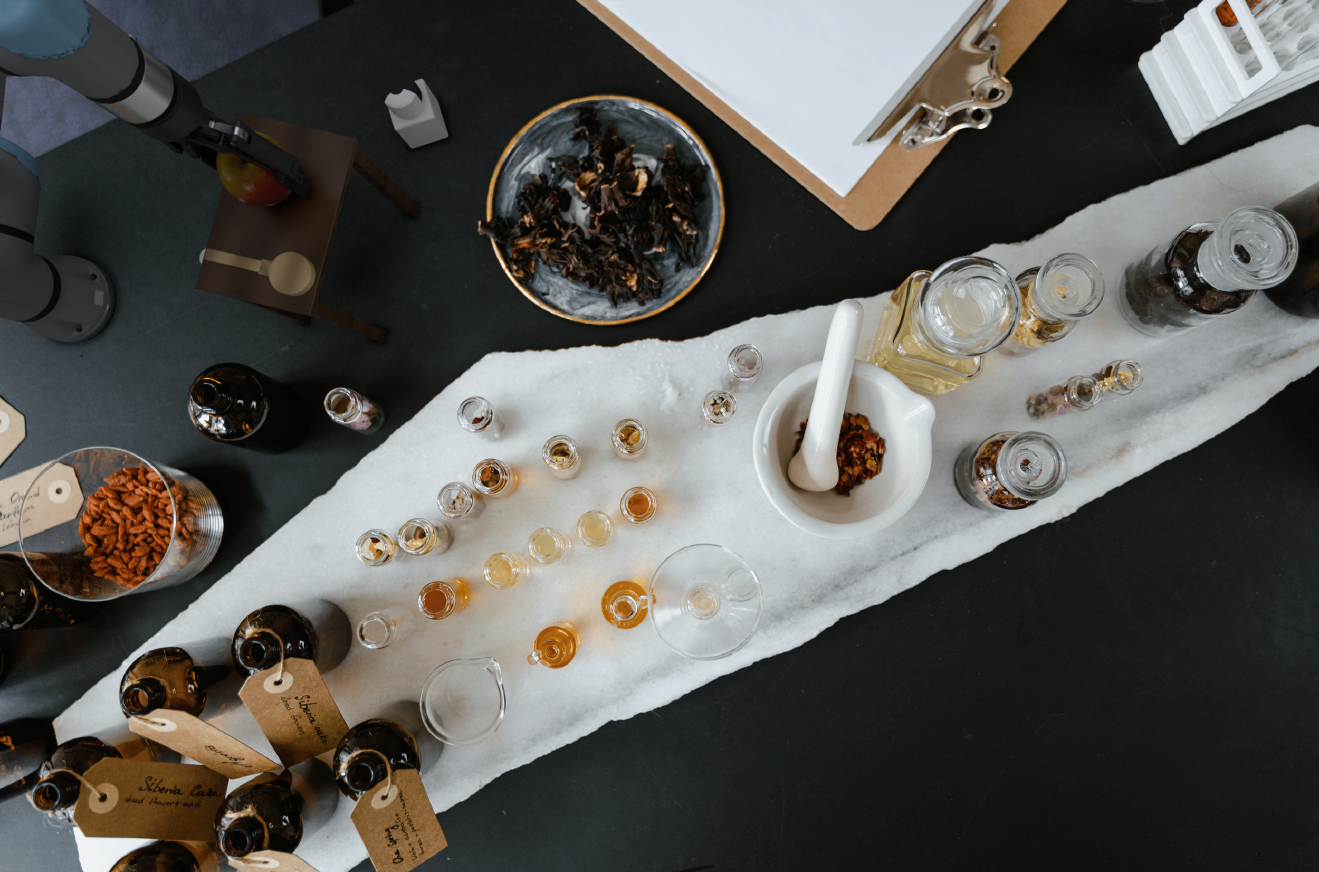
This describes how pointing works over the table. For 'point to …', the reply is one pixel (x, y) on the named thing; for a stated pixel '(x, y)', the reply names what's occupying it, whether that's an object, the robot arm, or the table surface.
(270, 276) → the wooden paddle
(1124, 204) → the table surface
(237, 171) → the fruit
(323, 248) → the dark wooden stool
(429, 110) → the gray notched block
